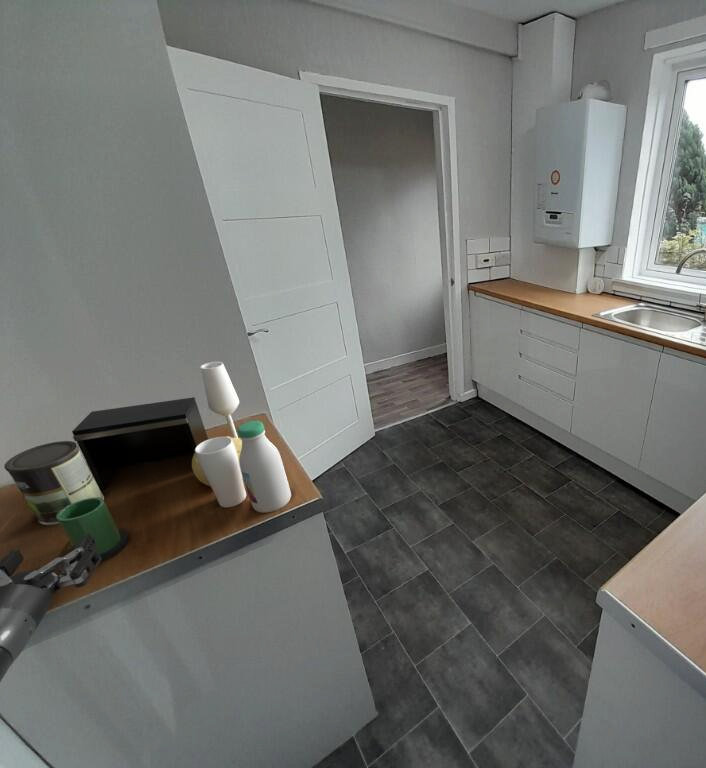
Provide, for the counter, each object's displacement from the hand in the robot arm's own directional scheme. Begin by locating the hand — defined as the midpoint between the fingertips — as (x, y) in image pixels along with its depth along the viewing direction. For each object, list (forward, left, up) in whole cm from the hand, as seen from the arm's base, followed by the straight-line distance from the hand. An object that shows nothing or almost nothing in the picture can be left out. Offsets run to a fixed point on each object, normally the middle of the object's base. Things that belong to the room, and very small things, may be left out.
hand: (54, 545), depth 67 cm
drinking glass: (+21, +16, -10) cm, 28 cm away
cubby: (+3, +37, -10) cm, 38 cm away
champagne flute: (+19, +42, -10) cm, 47 cm away
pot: (0, +10, -9) cm, 13 cm away
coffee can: (-10, +27, -10) cm, 30 cm away
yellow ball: (+19, +26, -10) cm, 34 cm away
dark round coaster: (0, +10, -10) cm, 14 cm away
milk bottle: (+29, +12, -10) cm, 33 cm away
